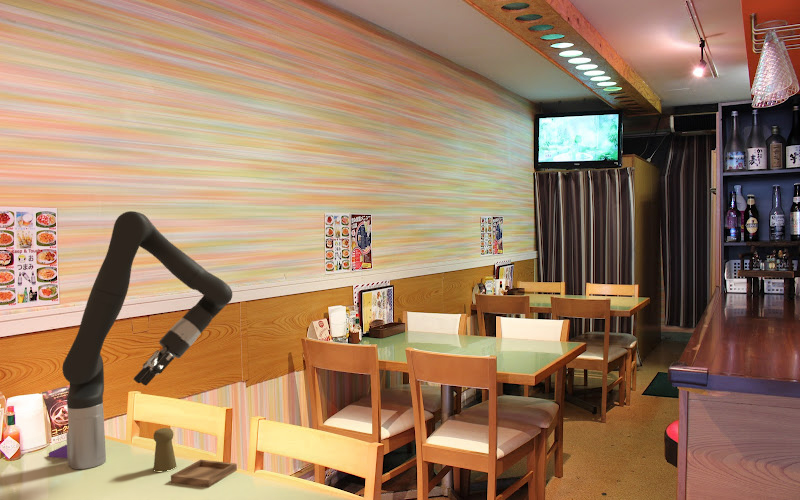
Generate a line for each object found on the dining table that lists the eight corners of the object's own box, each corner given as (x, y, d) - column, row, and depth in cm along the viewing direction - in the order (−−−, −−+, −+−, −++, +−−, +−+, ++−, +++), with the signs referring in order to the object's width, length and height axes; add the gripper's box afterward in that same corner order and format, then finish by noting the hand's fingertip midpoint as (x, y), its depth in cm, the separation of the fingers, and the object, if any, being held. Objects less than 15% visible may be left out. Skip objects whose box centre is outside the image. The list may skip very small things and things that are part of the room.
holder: (171, 482, 164) (170, 475, 164) (200, 465, 176) (200, 459, 175) (208, 487, 160) (208, 480, 160) (236, 470, 171) (236, 463, 171)
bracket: (98, 452, 192) (97, 430, 192) (81, 460, 185) (80, 437, 185) (66, 450, 195) (65, 428, 195) (48, 457, 189) (47, 435, 188)
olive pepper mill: (168, 472, 171) (166, 432, 171) (149, 471, 173) (147, 432, 172) (180, 464, 177) (178, 426, 177) (161, 463, 178) (159, 425, 178)
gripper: (164, 329, 185) (123, 372, 178) (177, 329, 174) (133, 375, 166) (183, 345, 188) (143, 389, 180) (196, 346, 176) (155, 393, 169)
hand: (139, 382), depth 173 cm, fingers open, 8 cm apart
